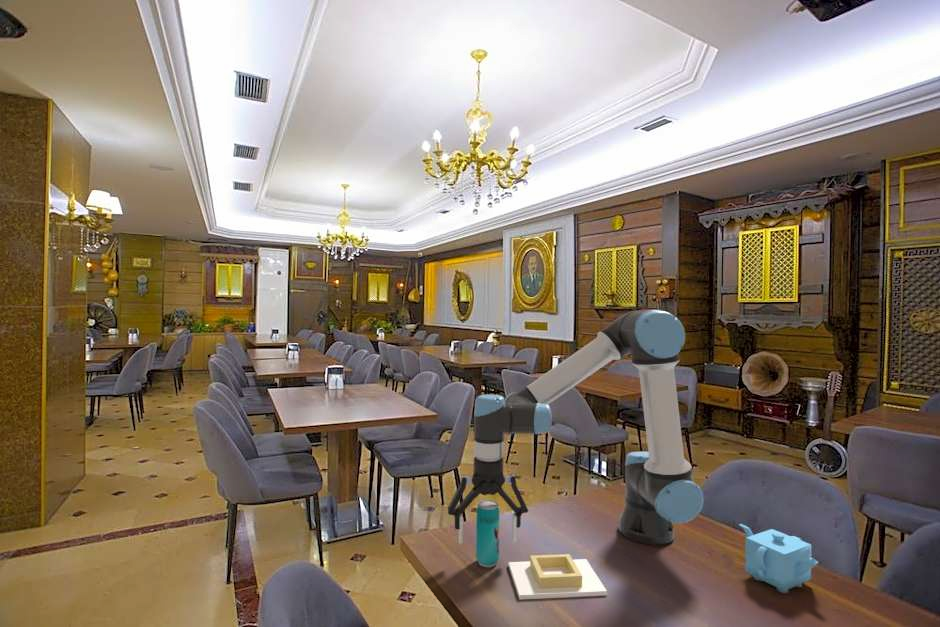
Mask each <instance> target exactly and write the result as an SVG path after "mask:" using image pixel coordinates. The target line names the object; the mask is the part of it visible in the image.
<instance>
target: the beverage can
mask: <svg viewBox="0 0 940 627" xmlns="http://www.w3.org/2000/svg"><path fill="white" fill-rule="evenodd" d="M475 546H476V548H475V549H476V555H475V557H476V559H477V562H478V564H479V565H480V566H481V567H483V568H493V567H495V566H496V565H497V563H498V561H499V558H500V508H499V503H498V502H497V501H496V500H491V499H483V500H481V501H478V503H477V508H476V542H475Z"/></svg>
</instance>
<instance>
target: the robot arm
mask: <svg viewBox="0 0 940 627" xmlns="http://www.w3.org/2000/svg"><path fill="white" fill-rule="evenodd" d="M685 341H686V332H685V328H684V325H683V323H682V322H681V321H680V320H679V318H677V317H676V316H675V315H673V314H672V313H670V312H668V311H663V310H659V309H651V310H648V309H647V310H642V309H637V310H631V311H629V312H626V313H625V314H622V315H620V316H619V317H618V318H617V319H615V320H613V322H611V323H610V324H608V325H607V326H605V327H604V328H602V329H601V330H600V331H598V332H597V337H596V338H594V339H593V340H591V341H590V342H589V343H588V344H586V345H584V346H583V347H581V348H580V349H579V350H577V351H576V352H573V354H571V355H570V356H568V357H567V358H566V359H564V360H563V361H561V362H560V363H558V364H557V365H555V366H554V367H553V368H551V369H549V370H548V371H547V372H545V373H544V374H543V375H541V376H540V377H539V378H537V379H535V380H534V381H533V382H531V383H529V384H528V385H527V386H525V387H524V388H522V389H520V390H519V391H518V392H516V391H515V392H511V393H509V394H508V395H506V397H505V398H504V396H502V395H499V394H492V393H491V394H480V395H478V396H476V398H475V401H474V412H473V414H474V415H473V456H474V457H473V474H472V476H466V475H465V474H462V475H461V476H460V483H459V484H458V485H459V486H458V487H457V489H456V490H455V493H454V494H453V496H452V499H451V501H450V503H449V504H448V507H447V514H448V515H449V516H453V517H454V528H455V530H458V543H459V544H460V545H462V544H463V540H464V539H463V538H464V537H463V533H464V532H463V531H464V517H463V513H464V512H465V510H466V509H467V508H468V507H469V506H470V504H472V502H473V501H474V500H476V498H478V496H479V495H480V494H481V495H482V496H487V495H490V496H494V495H496V494H498V495H499V496H500V497H501V498H502V499H503V500H504V501H505V502H506V504H507V505H508V506H509V508H511V510H512V511H511V532H510V533H511V534H510V535H511V540H512V542H513V543H517V528H520V527H521V526H522V525H521V521H522V520H521V519H522V518H521V517H522V514H527V513H528V512H529V509H528V507H527V504H526V502H525V501H524V499H523V497H522V494H521V493H520V492H521V491H519V488H518V487H517V479H516V476H515V475H514V474H513V473H510V474H509V475H506V476H505V475H504V458H503V456H504V436H505V434H506V435H507V434H509V435H510V434H511V435H513V434H514V435H515V434H519V435H521V434H522V435H523V434H525V435H526V434H528V435H529V434H530V435H531V434H532V435H533V434H535V435H539V434H548V433H550V431H551V429H552V426H553V424H552V423H553V416H552V415H553V414H552V408H551V406H550V405H549V404H552V402H554V401H555V400H557V399H558V398H559V397H561V396H563V395H564V394H565V393H567V392H568V391H570V390H571V389H573V388H574V387H576V386H577V385H579V383H582V381H584V380H585V379H587V378H589V377H590V376H592V375H593V374H594V373H596V372H597V371H599V370H600V369H601V368H603V367H604V366H606V365H608V364H609V363H610V362H612V361H613V360H616V361H619V360H621V359H622V358H625V356H628V355H630V357H631V363H632V366H634V367H635V368H637V370H638V373H639V381H640V383H639V384H640V391H641V400H642V409H643V416H644V417H643V418H644V425H645V435H646V436H645V437H646V444H647V451H632V452H629V453H627V455H626V457H625V463H624V466H625V468H624V469H625V474H624V477H625V478H624V480H625V482H624V483H625V486H624V487H625V488H624V489H625V490H624V492H625V496H624V497H625V499H624V500H625V501H624V506H623V507H622V508H623V509H622V510H621V513H620V516H619V520H618V530H619V533H620V534H621V535H623V537H625V538H627V539H629V540H632V541H634V542H637V543H641V544H646V545H661V546H662V545H667V544H669V543H671V542H673V541H674V539H675V527H674V524H680V525H681V524H685V523H688V522H690V521H693V520H694V519H695V518H696V516H697V515H698V514H699V513H700V512H701V511H702V509H703V506H704V493H703V491H702V489H701V488H700V486H699V485H698V484H697V483H696V482H695V481H694V477H693V476H694V475H693V467H692V464H691V463H690V462H689V461H688V460H687V459H685V456H684V446H683V435H682V429H681V418H680V409H679V400H678V393H677V383H676V382H677V381H676V375H675V367H676V366H677V364H678V363H679V362H680V361H681V360H680V353H679V352H680V351H681V350H682V348H683V346H684V345H685ZM470 483H472V485H473V487H472V488H471V490H470V491H469V493H468V494H467V495H466V496H465V497H464V499H463V500H462V501H461V502H460V500H461V498H462V496H463V494H464V492H465V490H466V488H467V487H468V486H469V485H470ZM505 483H507V485H509V486H510V487H511V489H512V491H513V493H514V494H515V497H516V498H517V501H518V503H519V505H520V506H518V505H517V504H516V502H515V501H514V500H513V499H512V498H511V497H510V496H509V494H508V493H507V492H506V491H505V490H504V488H503V485H504V484H505ZM459 502H460V503H459ZM458 503H459V504H458Z"/></svg>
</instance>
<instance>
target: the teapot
mask: <svg viewBox="0 0 940 627" xmlns="http://www.w3.org/2000/svg"><path fill="white" fill-rule="evenodd" d="M738 525H739V526H740V527H741V528H742V529H743V530H744V533H745V535H746V537H745V550H744V551H745V556H744V560H745V562H744V563H745V566H744V572H745V573H747V574H749V575H750V576H751V575H752V576H753V579H754V578H755V579H754V580H756V581H758V580H759V582H765V583H767V584H769V585H771V586H773V587H775V588H776V590H777V591H778V592H779V593H783V594H788V593H789V592H790V591H789V590H791V589H792V588H795V587H798V588H802V587H803V584H804V583H805V582H806V583H807V582H808V581H810V580H812V569H813V568H814V567H816V565H818V564H819V561H818V560H816V559H815V558H813V557H812V544H811V543H808V542H806V541H804V540H802V538H800V537H797V536H795V535H791V536H790V535H788V534H786V533H783V532H781V531H778V530H775V529H773V528H771V529H767V530H765V531H761V532H759V533H755V534H753V532H752V530H751V528H750V527H748V526H747V525H745V524H742V523H739V524H738Z"/></svg>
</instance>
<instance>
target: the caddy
mask: <svg viewBox="0 0 940 627" xmlns="http://www.w3.org/2000/svg"><path fill="white" fill-rule="evenodd" d="M529 557H530V558H529V561H509V562H508V564H507V565H508V566H507V567H508V569H509V572H510V576H511V579H512V581H513V584H514V587H515V590H516V594H517V597H518V600H520V601H521V600H538V599H539V600H542V599H543V600H544V599H561V598H564V599H565V598H581V597H599V596H601V597H602V596H603V597H604V596H608V591H607V589H606V587H605V586H604V583H602V581H601V579H600V578H599V577H598V575H597V573H596V572H595V571H594V569H593V568H592V565H591V564H590V562H589V561H588V560H587V558H579V559H576V558H575V559H573V558H572V556H571V555H570V554H569V553H565V554H564V553H562V554H541V555H538V554H537V555H529Z"/></svg>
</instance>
